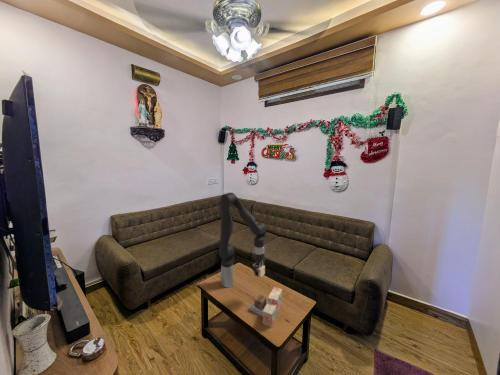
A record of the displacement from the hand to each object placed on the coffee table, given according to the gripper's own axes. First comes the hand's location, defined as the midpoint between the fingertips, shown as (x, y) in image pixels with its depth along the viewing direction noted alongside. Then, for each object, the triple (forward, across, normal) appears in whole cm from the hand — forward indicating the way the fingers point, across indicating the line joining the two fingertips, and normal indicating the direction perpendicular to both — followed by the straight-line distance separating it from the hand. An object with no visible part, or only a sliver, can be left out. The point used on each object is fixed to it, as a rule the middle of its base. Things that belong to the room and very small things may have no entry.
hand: (259, 273), depth 148 cm
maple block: (+1, 0, 0) cm, 1 cm away
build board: (+20, +7, +5) cm, 22 cm away
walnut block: (+19, +7, +5) cm, 21 cm away
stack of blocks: (+21, +7, +15) cm, 26 cm away
